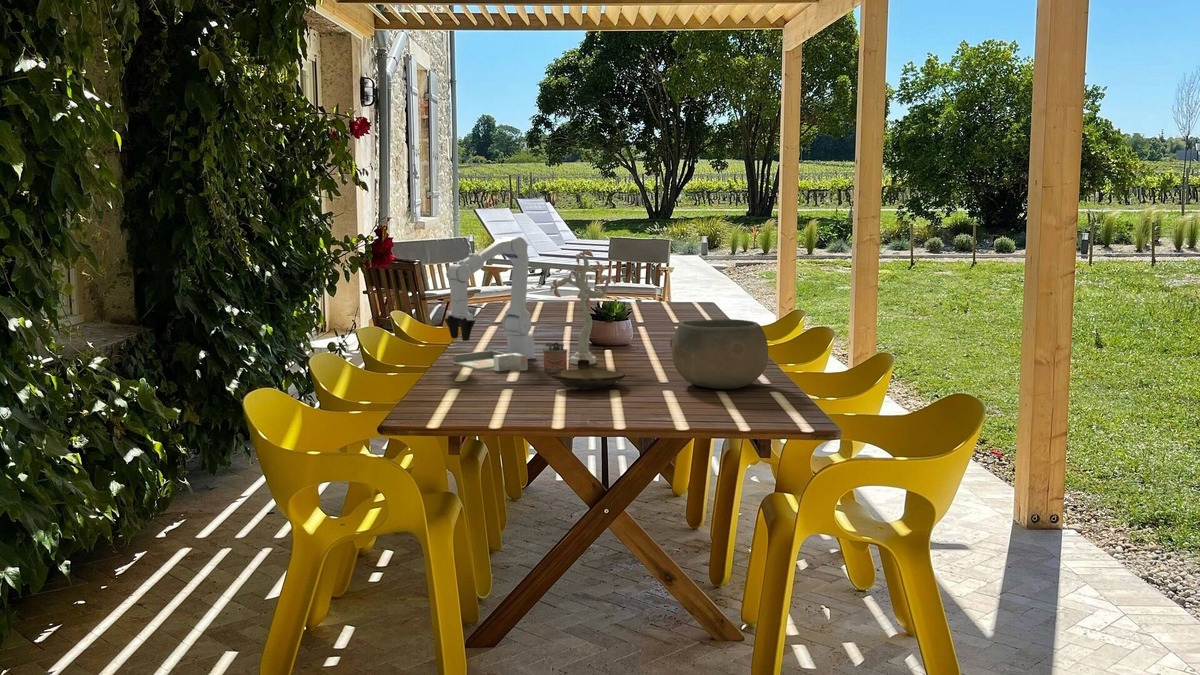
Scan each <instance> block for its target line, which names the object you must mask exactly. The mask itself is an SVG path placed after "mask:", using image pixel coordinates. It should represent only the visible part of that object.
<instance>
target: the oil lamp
mask: <svg viewBox="0 0 1200 675" xmlns="http://www.w3.org/2000/svg"><path fill="white" fill-rule="evenodd" d="M550 377H551V378H552V379H554V380H555V381H557V382H558V383H561V384H563V385H566V386H568V387H571V388H573V389H579V390H580V389H587V390H588V389H602V388H606V387H608V386H610V385H613V384H614V383H616V382H618V381H620V380H622V379H624V378H625V377H626V373H625V372H624V371H623V372H622V371H617V370H608V369H593V368H590V365H589V360H587V359H586V357H585V355H583V354H581V355H580V360H578V365H577V368H576V369H567V370H561V371H558V372H556V373H555V374H551V376H550Z"/></svg>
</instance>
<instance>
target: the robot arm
mask: <svg viewBox="0 0 1200 675" xmlns="http://www.w3.org/2000/svg"><path fill="white" fill-rule="evenodd" d="M528 245H529V243H528V242H527V241H526V240H525V239H524V237H521V236H516V237H515V236H500V237H499V238H497V239H495V240H494V242H493V243H491V244H490V245H489V246H487V247H485V249H484V250H482V251H481V252H479V253H475V252H474V253H472V252H470V253H469V254H467V257H465V258H464V259H462V260H459V261H458V263H457V264H455V263H454V264H451V265H449V267H448V268H447V271H446V273H445V274H446V278H447V279H448V281H449V282H448V284H449V287H450V288H449V289H450V293H449V294H450V310H446V313H445V314H446V318H444V322H445V323H446V325H447V327H448V330H449V335H450V338H451V339H458V338H459V328H460V333H461V339H462V341H463V342H466V341H470V338H471V334H472V330H473V327H474V325H475V323H476V320H474V314H472V313H470V312H469V306H468V305H469V304H468V303H469V301H468V298H469V297H468V281H469V280H470V279H471V277H472V275H473V274H475V273H476V272H478V271H479V270H481V269H482V268H484V265H485V262H488V261H489V260H490V259H492V258H494V257H496V256H497V255H499V254H501V255H502V256H504V257H505V258H507V259H508V260H509V261H510V262H511V263H512V275H511V276H512V278H511V290H510V304H509V307H508V309H507V310H506V311H505V313H504V314H505V315H504V318H503V320H502V328H503V330H504V331H505V334H506V341H507V346H506V348H507V352H506V353H507V354H511V353H518V354H523V355H527V360H531V359H536V358H537V357H536V352H535V351H536V350H535V338H534V336H533V334H531V333H530V331H531V330H532V325H533V324H532V320H531V313H530V311H528V309H527V308H526V303H527V293H528V292H527V291H528V288H527V287H528V276H529V254H528Z"/></svg>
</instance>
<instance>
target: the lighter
mask: <svg viewBox="0 0 1200 675" xmlns="http://www.w3.org/2000/svg"><path fill="white" fill-rule="evenodd" d="M564 344H565V343H563V342H558V341H555V342H553V341H552V342H545V347H548V348H544V349H542V350H543V351H542V352H543V373H557V372H558V371H561V370H568V349H566V348H564V347H565V345H564Z"/></svg>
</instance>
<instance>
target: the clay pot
mask: <svg viewBox="0 0 1200 675" xmlns="http://www.w3.org/2000/svg"><path fill="white" fill-rule="evenodd" d="M669 347H670V348H671V355H672V362H673V365H674V367H675V370H676V371H677V372H678V374H679V375H680V376H681V377H682V378H683V379H684V380H685V382H688V383H690V384H692V385H694V386H697V387H703V388H707V389H714V390H733V389H740V388H744V387H746V386H748V385H750V384H752V383H754V382H756V380H758V378H760V377H761V375H762V374H764V372H765V370H766V368H767V365H768V361H769V346H768V338H767V335H766V333H765V331H764V329H763V328H762V326H761V325H760V324H759V323H758V322H757V321H753V320H748V319H747V320H745V319H735V318H734V319H732V318H730V319H726V318H725V319H724V318H723V319H722V318H721V319H718V318H717V319H715V318H714V319H699V320H698V319H697V320H682V321H680V323H679V324H678V326H677V327H676V328H675V331H674V335H673V336H671V338H670V342H669Z"/></svg>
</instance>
